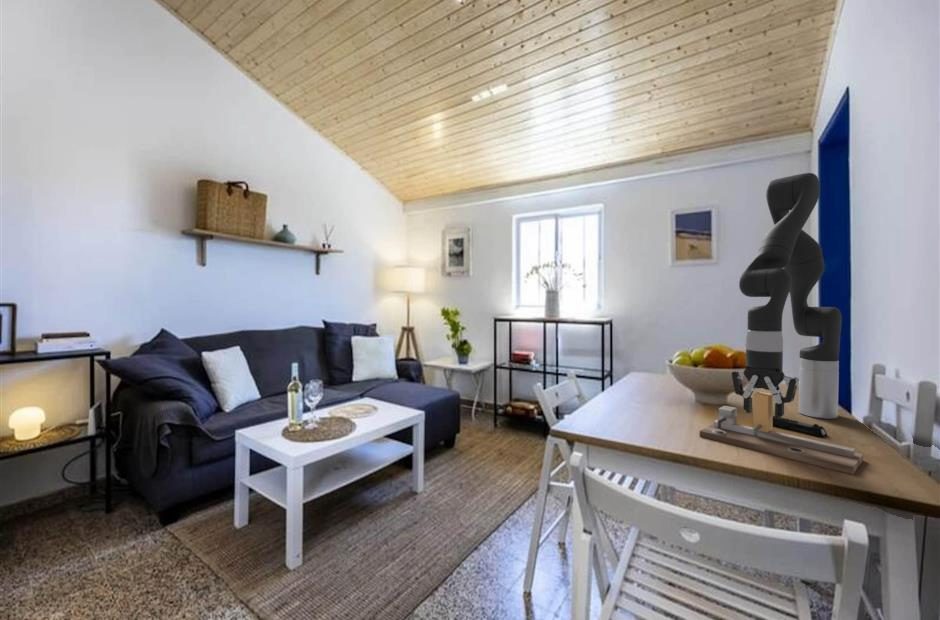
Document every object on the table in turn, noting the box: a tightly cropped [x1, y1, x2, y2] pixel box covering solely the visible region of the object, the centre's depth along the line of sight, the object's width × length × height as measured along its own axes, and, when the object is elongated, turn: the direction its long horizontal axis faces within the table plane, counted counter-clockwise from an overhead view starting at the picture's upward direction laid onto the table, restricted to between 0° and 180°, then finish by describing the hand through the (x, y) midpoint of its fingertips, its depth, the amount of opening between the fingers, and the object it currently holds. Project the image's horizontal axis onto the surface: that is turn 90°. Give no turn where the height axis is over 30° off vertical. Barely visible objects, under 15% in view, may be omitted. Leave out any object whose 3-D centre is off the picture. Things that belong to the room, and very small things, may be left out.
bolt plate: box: [699, 405, 864, 475], centre depth 100 cm, size 11×30×7 cm, turn 39°
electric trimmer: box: [773, 415, 828, 438], centre depth 113 cm, size 4×15×3 cm, turn 32°
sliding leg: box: [752, 391, 774, 437], centre depth 102 cm, size 8×3×10 cm, turn 129°
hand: (763, 414), depth 103 cm, fingers open, 5 cm apart
